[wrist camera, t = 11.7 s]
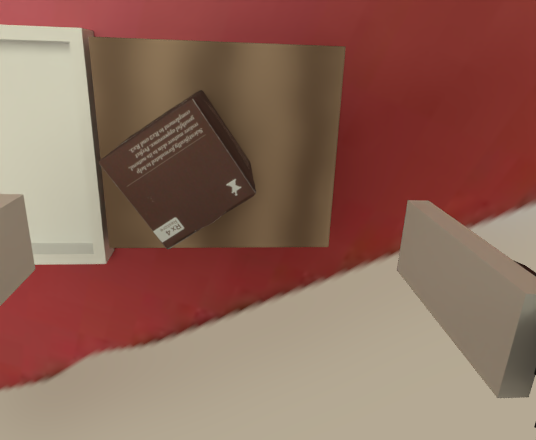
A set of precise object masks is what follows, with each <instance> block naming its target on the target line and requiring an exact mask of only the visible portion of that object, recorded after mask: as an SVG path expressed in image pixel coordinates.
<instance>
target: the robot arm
mask: <svg viewBox="0 0 536 440" xmlns="http://www.w3.org/2000/svg"><path fill="white" fill-rule="evenodd" d="M34 270H35V264H34V257H33V251H32V245H31V239H30V233H29V226H28V220H27V214H26V208H25V201H24V195H23V194H0V306H1V305H2V303H3V302H4V301H5V300H6V299H7V298H8V297H9V296H10V295H11V294H12V293H13V292H14V291H15V290H16V289H17V288H18V287H19V286H20V285H21V284H22V283H23V282H24V281H25V280H26V279H27V278H28V276H29V275H30V274H31V273H32V272H33V271H34ZM397 271H398V272H399V273H400V274H401V276H402V277H403V278H404V279H405V281H406V282H407V283H408V284H409V286H410V287H411V289H412V290H413V291H414V292H415V294H416V295H417V296H418V297H419V299H420V300H421V301H422V302H423V304H424V305H425V306H426V308H427V309H428V310H429V311H430V313H431V314H432V315H433V316H434V318H435V319H436V320H437V321H438V323H439V324H440V325H441V327H442V328H443V329H444V331H445V332H446V333H447V334H448V335H449V337H450V338H451V339H452V341H453V342H454V343H455V345H456V346H457V347H458V348H459V350H460V351H461V352H462V353H463V355H464V356H465V357H466V358H467V360H468V361H469V362H470V363H471V365H472V366H473V367H474V369H475V370H476V371H477V373H478V374H479V375H480V376H481V378H482V379H483V380H484V381H485V383H486V384H487V385H488V387H489V388H490V389H491V390H492V392H493V393H494V394H495V395H496V397H497V398H514V397H515V398H516V397H529V394H530V391H531V387H532V384H533V381H534V377H535V375H536V273H535V272H534V271H532V270H531V269H530V268H528V267H527V266H525V265H523V264H520V263H518V262H516V261H513V260H512V259H510V258H509V257H507V256H506V255H505V254H503V253H502V252H500V251H499V250H497V249H496V248H495V247H493V246H492V245H490V244H489V243H488V242H486V241H485V240H483V239H482V238H480V237H479V236H478V235H476V234H475V233H473V232H472V231H471V230H469V229H468V228H466V227H465V226H464V225H462V224H461V223H459V222H458V221H457V220H455V219H454V218H452V217H451V216H450V215H448V214H447V213H445V212H444V211H443V210H441V209H440V208H438V207H437V206H435V205H434V204H433V203H431V202H430V201H421V200H408V202H407V209H406V215H405V221H404V228H403V234H402V241H401V247H400V253H399V260H398V266H397ZM535 428H536V423H535Z"/></svg>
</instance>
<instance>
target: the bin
mask: <svg viewBox="0 0 536 440" xmlns="http://www.w3.org/2000/svg"><path fill="white" fill-rule="evenodd" d="M88 37H94V32H93V31H92V30H87V29H83V28H69V27H44V26H19V25H0V194H23V195H24V201H25V208H26V214H27V220H28V226H29V233H30V239H31V245H32V251H33V257H34V264H106V263H107V262H108V260H109V258H110V257H111V255H112V253H113V252H114V248H109V239H108V229H107V219H106V209H105V199H104V189H103V179H102V169H101V166H100V164H99V161H100V160H101V159H100V149H99V139H98V129H97V119H96V109H95V99H94V89H93V79H92V69H91V59H90V50H89V40H88Z"/></svg>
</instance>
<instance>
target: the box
mask: <svg viewBox="0 0 536 440" xmlns="http://www.w3.org/2000/svg"><path fill="white" fill-rule="evenodd" d="M99 164H100V166H101V167H102V168H103V169H104V171H105V172H106V173H107V174H108V176H109V177H110V178H111V179H112V181H113V182H114V183H115V184H116V186H117V187H118V188H119V189H120V191H121V192H122V193H123V194H124V196H125V197H126V198H127V199H128V200H129V202H130V203H131V204H132V205H133V207H134V208H135V209H136V211H137V212H138V213H139V214H140V216H141V217H142V218H143V219H144V221H145V222H146V223H147V224H148V226H149V227H150V228H151V229H152V231H153V232H154V234H155V235H156V236H157V237H158V238H159V240H160V241H161V242H162V244H163V245H164V246H165V247H166V249H170V248H172V247H173V246H175V245H177V244H178V243H180V242H181V241H183V240H184V239H186V238H188V237H189V236H191V235H192V234H194V233H195V232H197V231H199V230H200V229H202V228H203V227H206V226H208V225H210V224H212V223H214V222H215V221H216V220H218V219H219V218H220V217H221V216H222V215H224V214H226V213H227V212H229V211H230V210H232V209H234V208H235V207H237V206H239V205H240V204H242V203H244V202H245V201H247V200H248V199H250V198H251V197H253V196H254V195H255V194H256V189H255V183H254V180H253V174H252V168H251V163H250V161H249V159H248V158H247V156H246V155H245V153H244V152H243V150H242V149H241V147H240V146H239V144H238V143H237V141H236V140H235V138H234V137H233V135H232V134H231V132H230V131H229V129H228V128H227V126H226V125H225V123H224V122H223V120H222V119H221V117H220V116H219V114H218V113H217V111H216V110H215V108H214V107H213V105H212V104H211V102H210V101H209V99H208V98H207V96H206V95H205V93H204V92H203V91H202V90H199V91H198V92H196V93H195V94H193V95H192V96H190V97H188V98H187V99H185V100H184V101H182V102H181V103H179V104H177V105H176V106H174V107H173V108H171V109H170V110H168V111H166V112H165V113H164V114H163V115H161V116H160V117H158V118H157V119H155V120H153V121H152V122H151V123H149V124H148V125H146V126H145V127H144V128H142V129H141V130H139V131H138V132H136V133H135V134H133V135H131V136H130V137H129V138H128V139H126V140H125V141H124V142H122V143H121V144H120V145H119V146H118V147H116V148H115V149H114V150H113V151H111V152H110V153H109V154H108V155H106V156H105V157H103V158H102V159H101V160H100V161H99Z"/></svg>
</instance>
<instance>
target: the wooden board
mask: <svg viewBox="0 0 536 440" xmlns="http://www.w3.org/2000/svg"><path fill="white" fill-rule="evenodd" d="M88 40H89V50H90V59H91V69H92V79H93V89H94V99H95V109H96V119H97V129H98V139H99V149H100V159H102V158H103V157H105V156H106V155H108V154H109V153H110V152H111V151H113V150H114V149H115V148H116V147H118V146H119V145H120V144H121V143H122V142H124V141H125V140H126V139H128V138H129V137H130V136H131V135H133V134H135V133H136V132H138V131H139V130H141V129H142V128H144V127H145V126H146V125H148V124H149V123H151V122H152V121H153V120H155V119H157V118H158V117H160V116H161V115H163V114H164V113H165V112H166V111H168V110H170V109H171V108H173V107H174V106H176V105H177V104H179V103H181V102H182V101H184V100H185V99H187V98H188V97H190V96H192V95H193V94H195V93H196V92H198V91H199V90H202V91H203V92H204V93H205V95H206V96H207V98H208V99H209V101H210V102H211V104H212V105H213V107H214V108H215V110H216V111H217V113H218V114H219V116H220V117H221V119H222V120H223V122H224V123H225V125H226V126H227V128H228V129H229V131H230V132H231V134H232V135H233V137H234V138H235V140H236V141H237V143H238V144H239V146H240V147H241V149H242V150H243V152H244V153H245V155H246V156H247V158H248V159H249V161H250V163H251V168H252V174H253V180H254V183H255V189H256V194H255V195H254V196H253V197H251V198H250V199H248V200H247V201H245V202H244V203H242V204H240V205H239V206H237V207H235V208H234V209H232V210H230V211H229V212H227V213H226V214H224V215H222V216H221V217H220V218H219V219H218V220H216V221H215V222H214V223H212V224H210V225H208V226H206V227H203V228H202V229H200V230H199V231H197V232H195V233H194V234H192V235H191V236H189V237H188V238H186V239H184V240H183V241H181V242H180V243H178V244H177V245H175V246H173V247H172V248H205V247H328V245H329V233H330V221H331V210H332V198H333V186H334V175H335V163H336V152H337V140H338V128H339V117H340V105H341V94H342V82H343V70H344V59H345V47H343V46H317V45H291V44H265V43H239V42H213V41H188V40H162V39H136V38H110V37H88ZM101 169H102V179H103V189H104V199H105V209H106V219H107V229H108V239H109V248H166V247H165V246H164V245H163V244H162V242H161V241H160V240H159V238H158V237H157V236H156V235H155V234H154V232H153V231H152V229H151V228H150V227H149V226H148V224H147V223H146V222H145V221H144V219H143V218H142V217H141V216H140V214H139V213H138V212H137V211H136V209H135V208H134V207H133V205H132V204H131V203H130V202H129V200H128V199H127V198H126V197H125V196H124V194H123V193H122V192H121V191H120V189H119V188H118V187H117V186H116V184H115V183H114V182H113V181H112V179H111V178H110V177H109V176H108V174H107V173H106V172H105V171H104V169H103V168H102V167H101Z"/></svg>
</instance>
